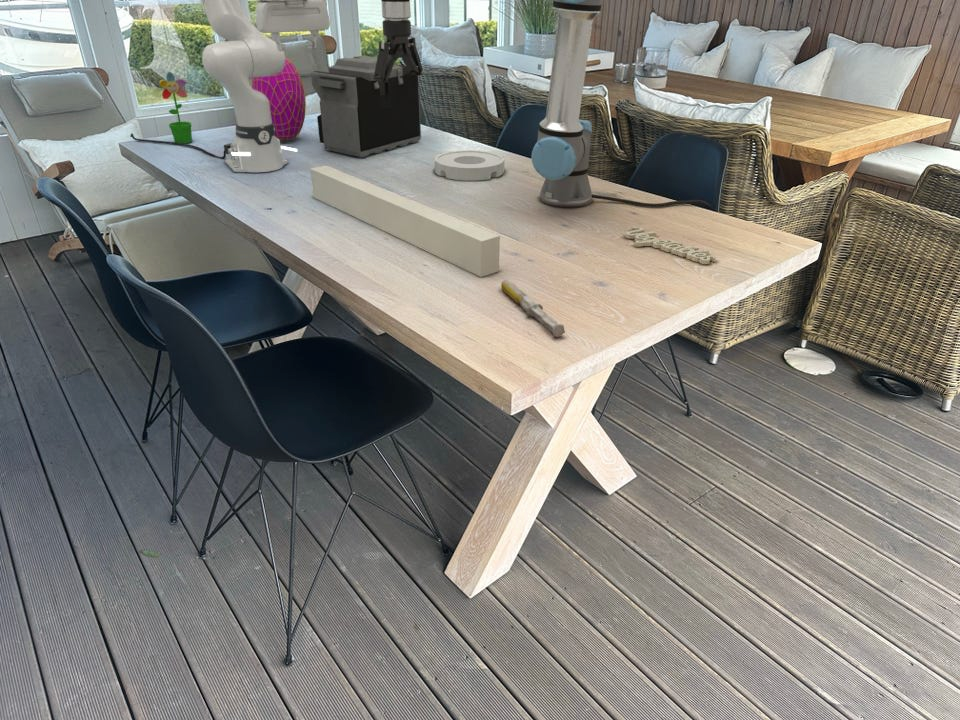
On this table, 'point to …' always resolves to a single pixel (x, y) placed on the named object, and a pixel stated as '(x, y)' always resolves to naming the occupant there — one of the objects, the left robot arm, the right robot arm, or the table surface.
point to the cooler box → (364, 108)
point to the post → (409, 220)
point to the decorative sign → (669, 245)
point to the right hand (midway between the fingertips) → (400, 103)
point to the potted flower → (178, 129)
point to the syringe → (532, 308)
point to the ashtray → (469, 165)
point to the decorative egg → (284, 100)
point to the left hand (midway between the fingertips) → (297, 49)
